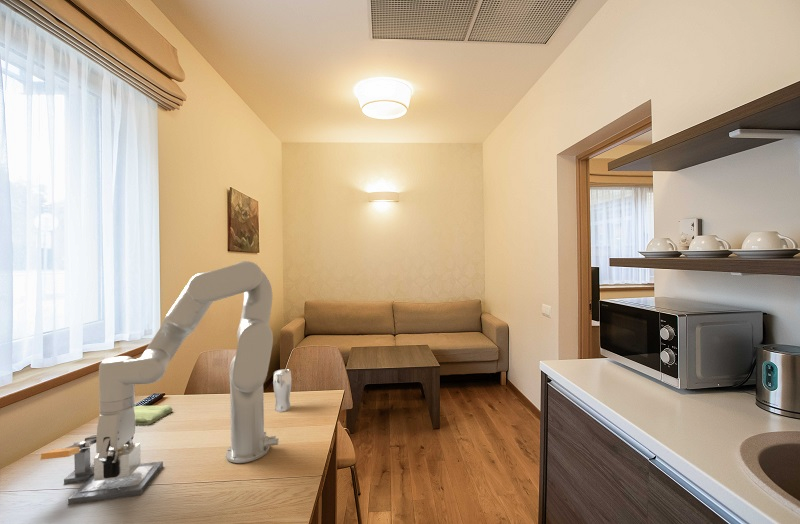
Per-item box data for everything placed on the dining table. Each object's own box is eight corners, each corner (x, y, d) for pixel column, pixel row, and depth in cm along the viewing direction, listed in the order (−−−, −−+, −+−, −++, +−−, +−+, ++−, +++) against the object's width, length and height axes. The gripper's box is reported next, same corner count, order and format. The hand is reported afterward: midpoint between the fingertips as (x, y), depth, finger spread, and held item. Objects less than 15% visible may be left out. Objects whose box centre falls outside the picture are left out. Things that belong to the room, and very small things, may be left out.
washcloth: (134, 410, 144) (134, 402, 144) (174, 412, 142) (174, 404, 142) (104, 426, 131) (104, 417, 131) (148, 428, 129) (148, 419, 129)
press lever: (115, 438, 110) (115, 432, 111) (68, 457, 90) (69, 450, 91) (92, 440, 109) (93, 434, 109) (40, 460, 89) (41, 453, 89)
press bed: (165, 462, 107) (165, 438, 106) (140, 495, 92) (139, 467, 92) (76, 472, 102) (75, 447, 102) (34, 509, 87) (33, 479, 87)
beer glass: (288, 412, 140) (288, 374, 140) (270, 412, 140) (270, 374, 140) (294, 405, 147) (293, 369, 147) (277, 405, 147) (276, 369, 147)
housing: (140, 464, 100) (140, 435, 100) (129, 476, 94) (128, 446, 94) (108, 467, 99) (107, 438, 98) (94, 480, 93) (93, 450, 93)
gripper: (119, 392, 104) (120, 454, 104) (79, 419, 87) (81, 492, 87) (148, 390, 105) (149, 451, 106) (115, 416, 89) (116, 487, 89)
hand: (118, 468), depth 97 cm, fingers closed on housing, 6 cm apart
